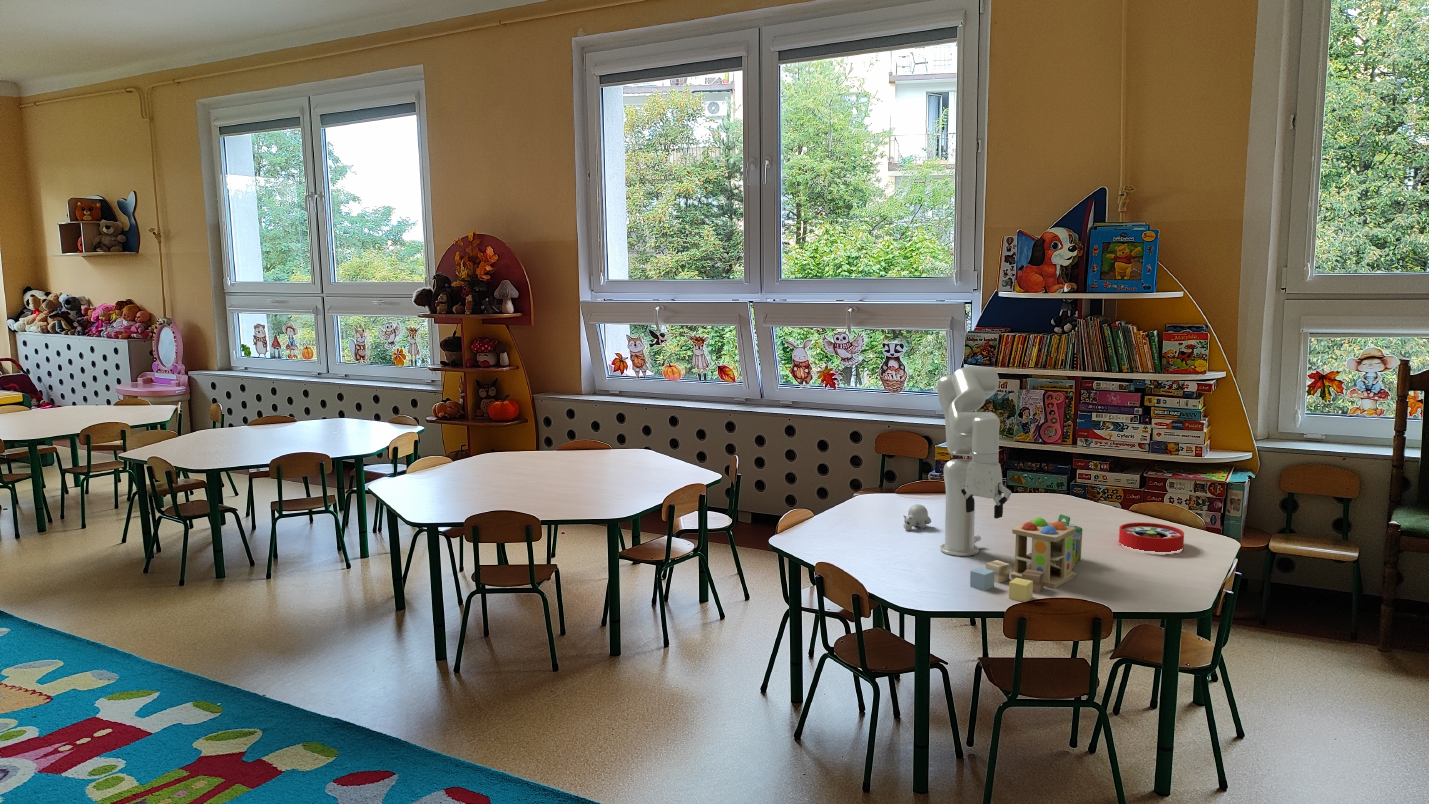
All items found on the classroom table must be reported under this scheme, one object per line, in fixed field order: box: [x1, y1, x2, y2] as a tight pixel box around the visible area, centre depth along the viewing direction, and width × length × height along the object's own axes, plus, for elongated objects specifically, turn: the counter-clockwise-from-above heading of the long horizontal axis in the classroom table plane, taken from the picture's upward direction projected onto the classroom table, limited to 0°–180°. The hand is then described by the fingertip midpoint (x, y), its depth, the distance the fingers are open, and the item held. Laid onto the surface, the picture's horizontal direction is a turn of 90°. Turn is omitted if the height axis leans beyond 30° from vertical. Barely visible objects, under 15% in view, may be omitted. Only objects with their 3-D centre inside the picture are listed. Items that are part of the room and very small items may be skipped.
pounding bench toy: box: [1010, 517, 1076, 589], centre depth 289 cm, size 23×14×18 cm, turn 135°
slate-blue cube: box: [969, 567, 995, 592], centre depth 279 cm, size 5×5×5 cm
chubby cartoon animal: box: [903, 503, 932, 531], centre depth 343 cm, size 7×12×8 cm, turn 125°
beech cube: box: [985, 559, 1011, 584], centre depth 286 cm, size 5×5×5 cm
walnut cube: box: [1022, 569, 1045, 594], centre depth 277 cm, size 5×5×5 cm
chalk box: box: [1054, 514, 1083, 564], centre depth 303 cm, size 9×9×15 cm
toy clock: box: [1118, 521, 1185, 552], centre depth 317 cm, size 20×6×20 cm
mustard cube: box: [1008, 578, 1034, 603], centre depth 269 cm, size 5×5×5 cm
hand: (983, 514), depth 276 cm, fingers open, 9 cm apart
